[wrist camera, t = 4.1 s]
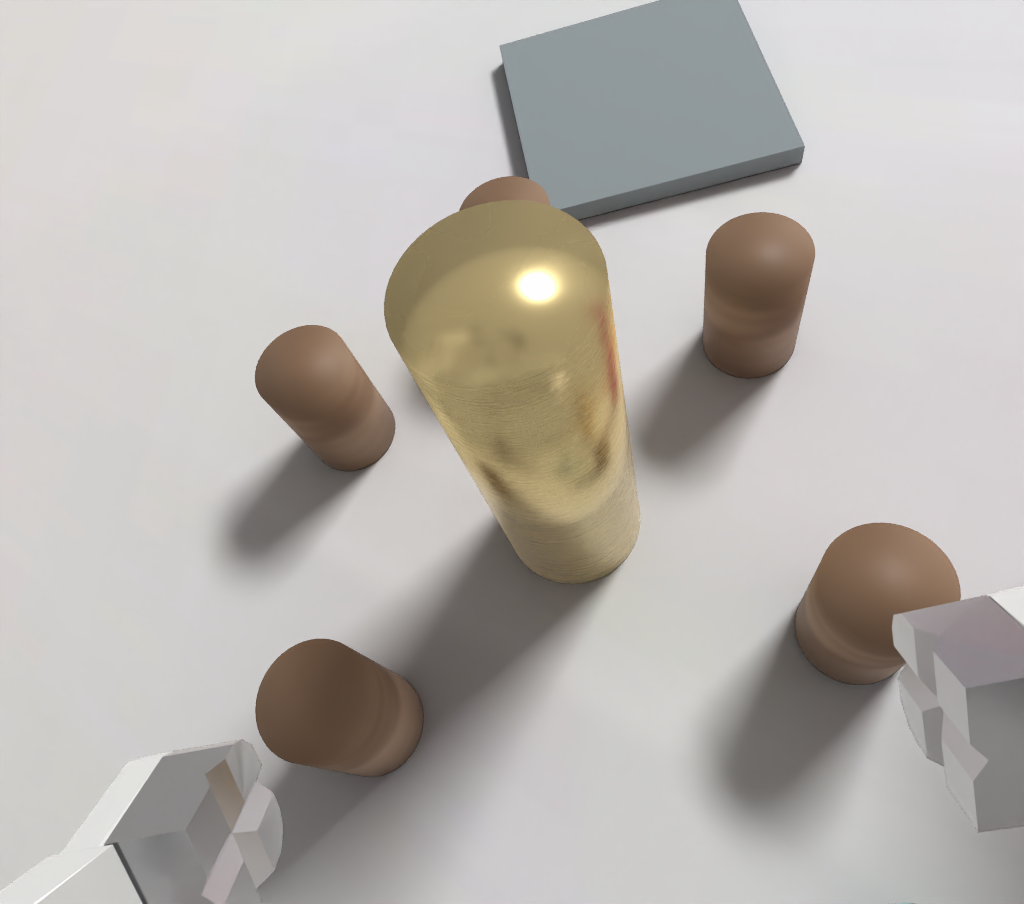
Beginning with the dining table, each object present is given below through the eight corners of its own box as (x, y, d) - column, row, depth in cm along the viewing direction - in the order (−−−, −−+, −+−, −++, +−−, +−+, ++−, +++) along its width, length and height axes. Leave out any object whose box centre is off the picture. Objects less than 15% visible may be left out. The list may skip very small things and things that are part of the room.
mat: (540, 229, 31) (537, 215, 30) (503, 61, 35) (499, 45, 34) (801, 162, 29) (804, 146, 29) (727, -2, 34) (728, -20, 33)
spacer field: (329, 785, 23) (255, 774, 19) (309, 319, 31) (254, 242, 27) (927, 673, 21) (983, 635, 17) (746, 208, 29) (755, 109, 25)
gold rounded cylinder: (519, 596, 24) (393, 411, 14) (499, 475, 26) (376, 231, 16) (654, 568, 24) (630, 355, 13) (624, 447, 26) (583, 177, 15)
